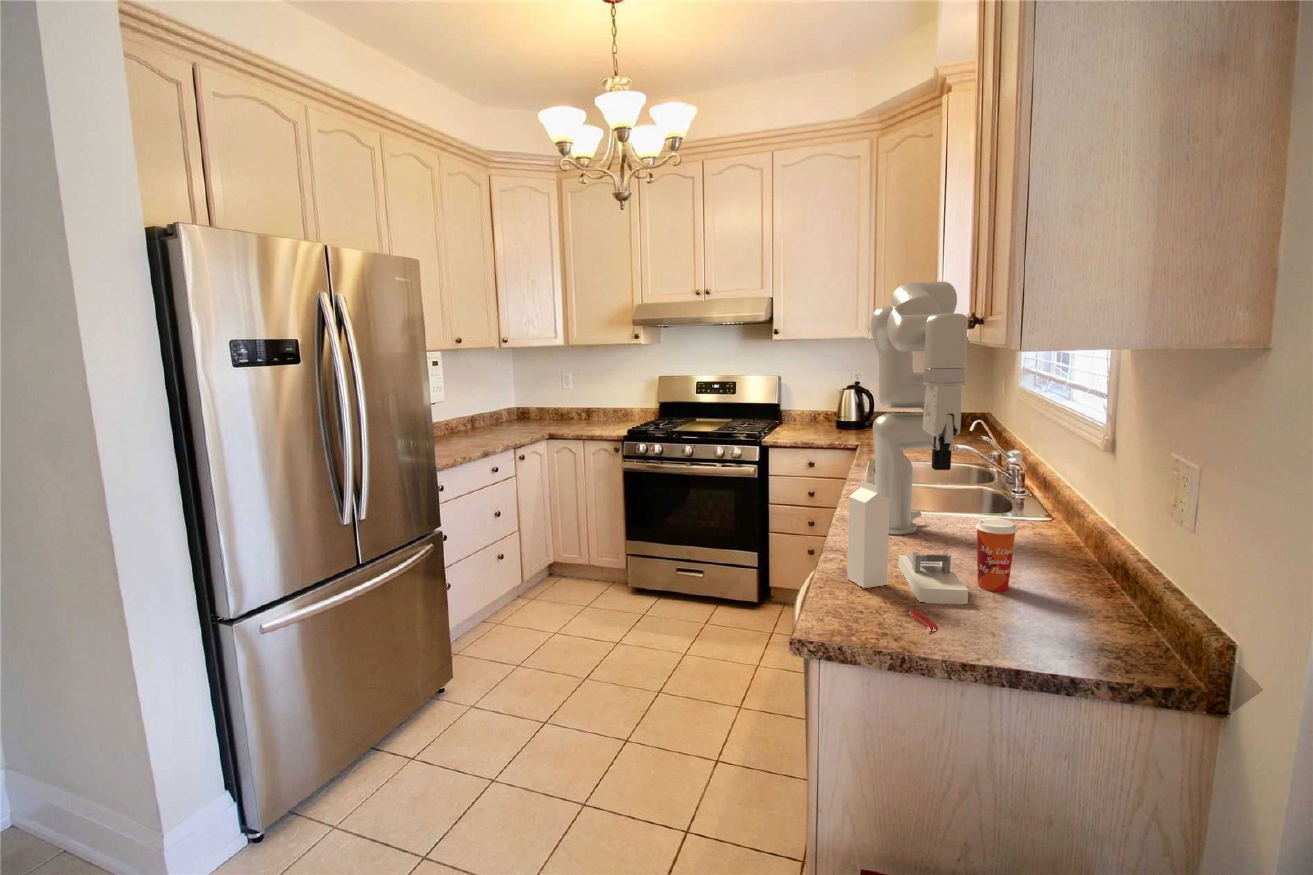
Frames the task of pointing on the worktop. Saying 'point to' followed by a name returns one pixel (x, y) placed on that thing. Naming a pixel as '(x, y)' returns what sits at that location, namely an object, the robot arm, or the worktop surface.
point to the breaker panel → (933, 580)
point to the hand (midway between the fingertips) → (940, 469)
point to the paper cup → (994, 553)
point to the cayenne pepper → (923, 619)
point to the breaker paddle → (933, 558)
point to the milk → (868, 536)
